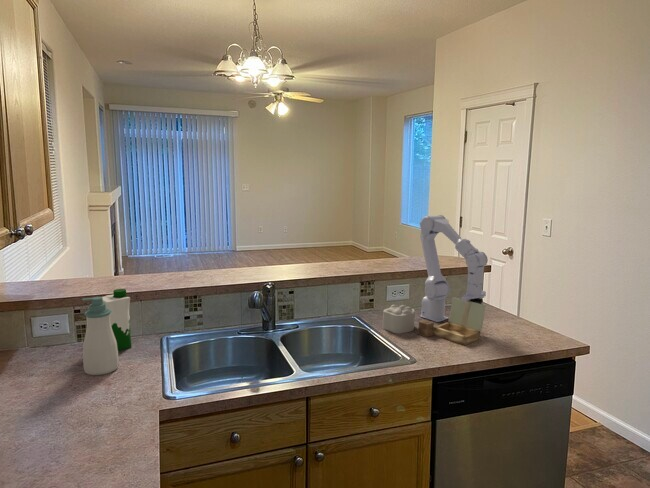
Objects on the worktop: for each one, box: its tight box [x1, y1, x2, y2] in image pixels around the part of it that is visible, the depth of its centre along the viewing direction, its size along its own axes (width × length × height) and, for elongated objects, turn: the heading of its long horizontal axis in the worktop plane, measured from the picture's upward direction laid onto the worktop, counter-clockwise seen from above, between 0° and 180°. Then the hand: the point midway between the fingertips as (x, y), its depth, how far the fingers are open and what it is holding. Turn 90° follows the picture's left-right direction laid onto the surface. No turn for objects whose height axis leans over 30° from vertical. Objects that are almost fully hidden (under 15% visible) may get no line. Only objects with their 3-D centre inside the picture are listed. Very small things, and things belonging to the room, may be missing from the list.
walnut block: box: [417, 319, 435, 338], centre depth 177 cm, size 4×4×5 cm
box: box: [432, 321, 481, 346], centre depth 175 cm, size 14×10×3 cm
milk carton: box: [101, 288, 132, 352], centre depth 157 cm, size 9×9×20 cm
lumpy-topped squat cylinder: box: [382, 304, 416, 334], centre depth 184 cm, size 10×13×9 cm
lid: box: [448, 296, 487, 332], centre depth 178 cm, size 14×10×1 cm
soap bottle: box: [81, 296, 120, 376], centre depth 140 cm, size 10×10×23 cm
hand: (472, 316), depth 181 cm, fingers closed
